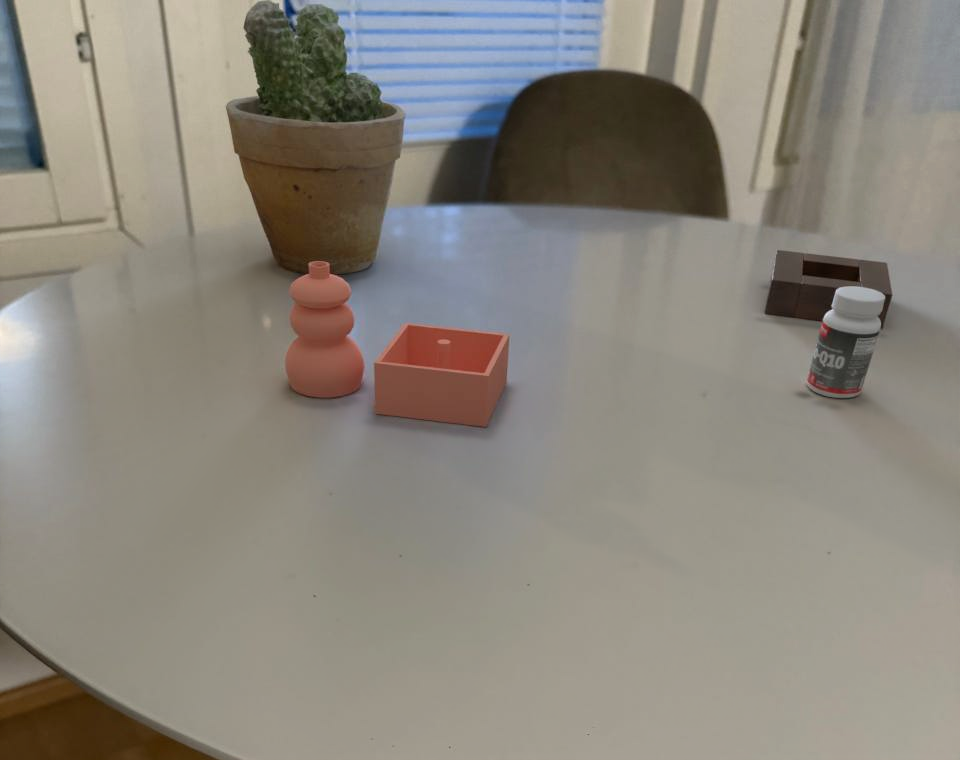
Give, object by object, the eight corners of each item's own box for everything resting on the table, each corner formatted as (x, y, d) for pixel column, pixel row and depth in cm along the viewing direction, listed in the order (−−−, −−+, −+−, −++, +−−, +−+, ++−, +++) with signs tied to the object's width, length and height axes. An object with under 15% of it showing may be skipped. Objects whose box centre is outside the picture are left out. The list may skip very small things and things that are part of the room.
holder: (877, 294, 107) (887, 262, 105) (882, 329, 98) (892, 294, 96) (769, 281, 109) (776, 249, 107) (764, 313, 100) (771, 279, 98)
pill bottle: (794, 382, 85) (818, 287, 80) (833, 375, 87) (859, 281, 82) (832, 403, 82) (859, 305, 77) (872, 394, 84) (901, 298, 79)
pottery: (506, 381, 83) (513, 265, 77) (486, 427, 75) (492, 301, 69) (308, 359, 85) (300, 244, 79) (269, 400, 78) (257, 277, 72)
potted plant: (262, 234, 116) (239, -13, 101) (414, 242, 116) (414, -5, 101) (224, 280, 102) (190, -1, 87) (398, 289, 102) (395, 9, 86)
